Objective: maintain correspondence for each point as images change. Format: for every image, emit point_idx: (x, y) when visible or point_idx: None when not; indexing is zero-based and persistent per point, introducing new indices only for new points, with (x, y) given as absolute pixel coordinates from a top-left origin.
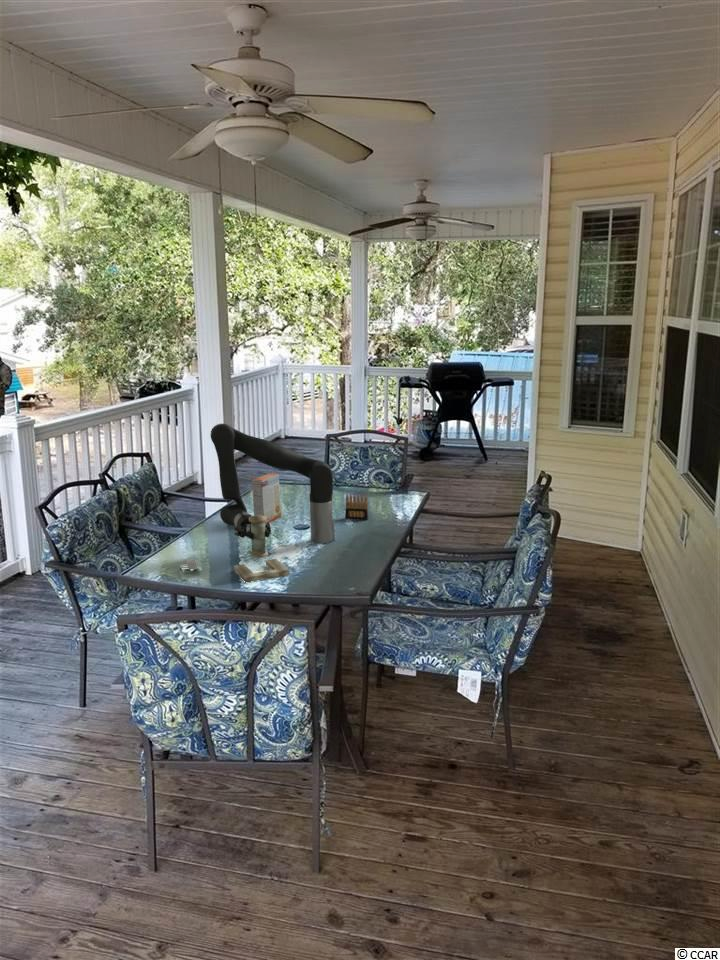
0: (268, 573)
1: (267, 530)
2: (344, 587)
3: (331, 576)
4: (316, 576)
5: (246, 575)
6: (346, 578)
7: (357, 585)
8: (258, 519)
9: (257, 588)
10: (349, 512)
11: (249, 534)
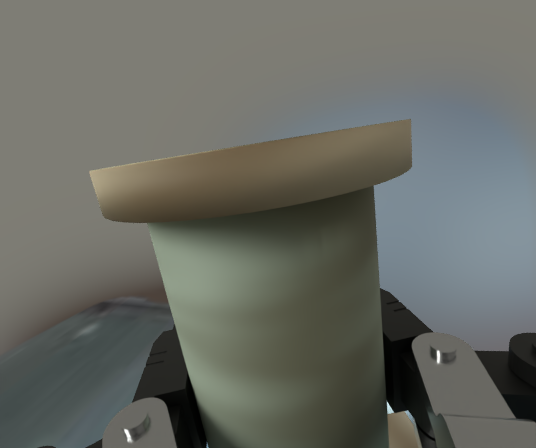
0: None
1: (144, 385)
2: (94, 337)
3: (33, 423)
4: (75, 438)
5: (405, 442)
6: (19, 393)
7: (56, 343)
8: (256, 143)
9: None
10: None
11: (386, 294)
